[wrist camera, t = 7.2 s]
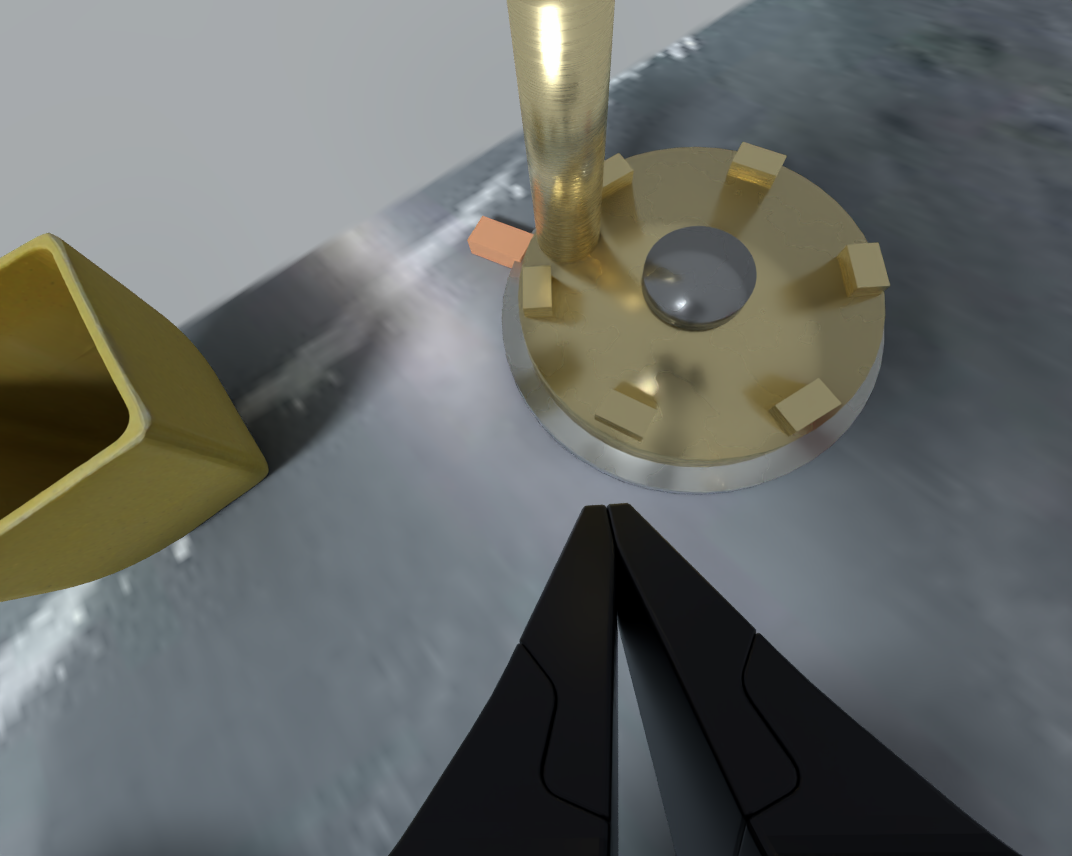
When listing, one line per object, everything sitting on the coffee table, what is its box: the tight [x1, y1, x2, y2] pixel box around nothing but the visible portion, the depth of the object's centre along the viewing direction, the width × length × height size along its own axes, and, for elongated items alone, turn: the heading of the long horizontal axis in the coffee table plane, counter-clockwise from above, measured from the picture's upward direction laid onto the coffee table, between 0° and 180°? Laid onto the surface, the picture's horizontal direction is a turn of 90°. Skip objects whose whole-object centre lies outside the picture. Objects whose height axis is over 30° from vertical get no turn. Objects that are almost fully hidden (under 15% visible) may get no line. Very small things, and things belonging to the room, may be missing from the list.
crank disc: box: [507, 0, 890, 467], centre depth 15 cm, size 15×15×11 cm
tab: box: [468, 216, 534, 268], centre depth 23 cm, size 3×2×1 cm, turn 63°
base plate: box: [502, 226, 884, 495], centre depth 20 cm, size 17×17×4 cm
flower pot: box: [0, 233, 269, 602], centre depth 17 cm, size 9×9×9 cm
